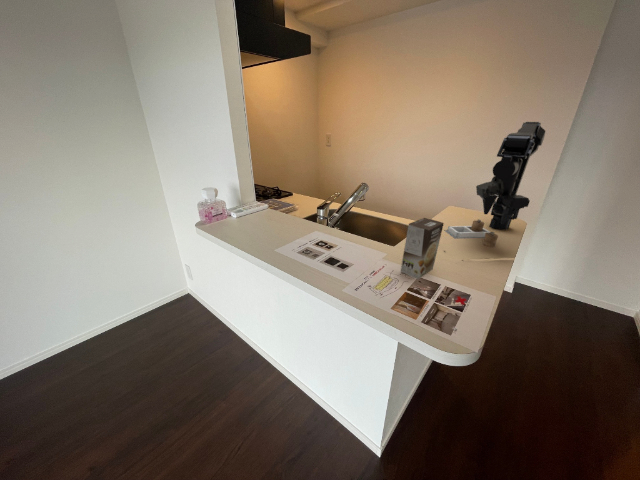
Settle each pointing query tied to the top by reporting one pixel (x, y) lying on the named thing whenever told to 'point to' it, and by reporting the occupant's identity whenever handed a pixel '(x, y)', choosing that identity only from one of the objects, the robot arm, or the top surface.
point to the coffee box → (421, 247)
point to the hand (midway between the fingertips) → (493, 218)
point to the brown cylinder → (490, 239)
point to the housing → (465, 232)
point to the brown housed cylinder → (477, 226)
